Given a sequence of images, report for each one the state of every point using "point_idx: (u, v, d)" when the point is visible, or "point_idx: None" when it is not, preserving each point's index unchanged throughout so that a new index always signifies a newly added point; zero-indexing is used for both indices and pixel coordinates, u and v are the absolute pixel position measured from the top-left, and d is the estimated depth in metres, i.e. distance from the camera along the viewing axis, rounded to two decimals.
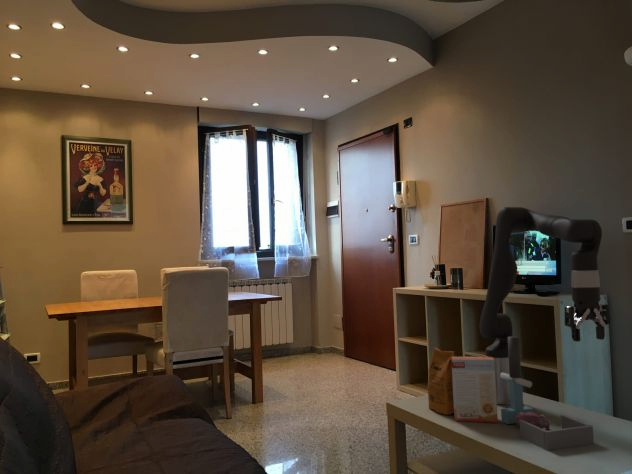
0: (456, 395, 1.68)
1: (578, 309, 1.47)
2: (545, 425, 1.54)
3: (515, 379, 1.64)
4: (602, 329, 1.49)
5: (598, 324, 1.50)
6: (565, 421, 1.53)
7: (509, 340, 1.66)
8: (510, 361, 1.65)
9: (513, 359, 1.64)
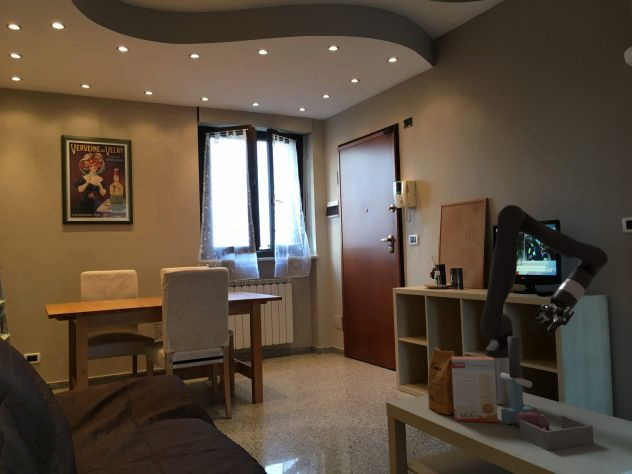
0: (456, 395, 1.68)
1: None
2: (545, 425, 1.54)
3: (515, 379, 1.64)
4: None
5: (539, 319, 1.74)
6: (565, 421, 1.53)
7: (509, 340, 1.66)
8: (510, 361, 1.65)
9: (513, 359, 1.64)
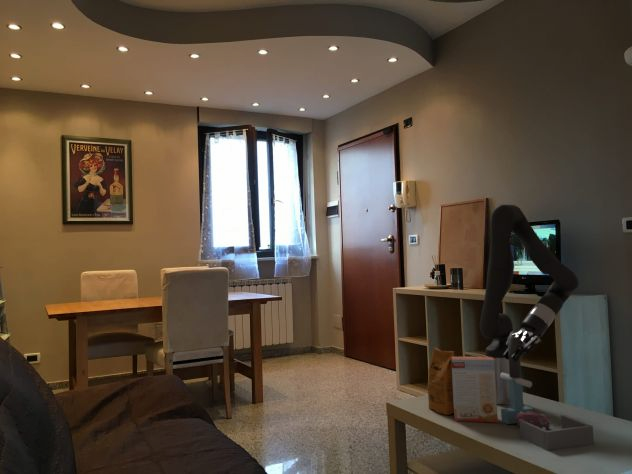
0: (456, 395, 1.68)
1: None
2: (545, 424, 1.55)
3: (515, 379, 1.64)
4: None
5: None
6: (565, 421, 1.53)
7: (509, 340, 1.66)
8: (510, 361, 1.65)
9: None
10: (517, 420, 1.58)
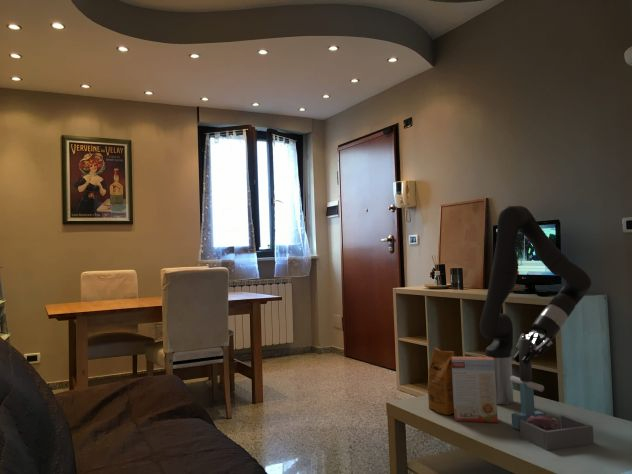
0: (456, 395, 1.68)
1: None
2: None
3: (526, 383, 1.59)
4: None
5: None
6: (565, 421, 1.53)
7: (520, 342, 1.60)
8: (521, 364, 1.60)
9: None
10: None
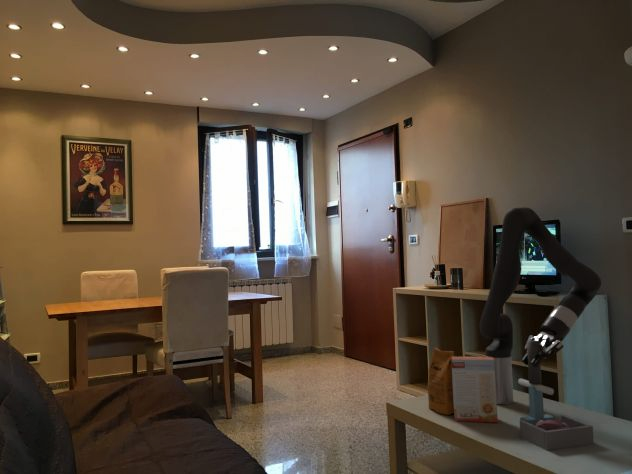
0: (456, 395, 1.68)
1: None
2: None
3: (535, 386, 1.55)
4: None
5: None
6: (565, 421, 1.53)
7: (528, 344, 1.56)
8: (530, 367, 1.56)
9: None
10: None
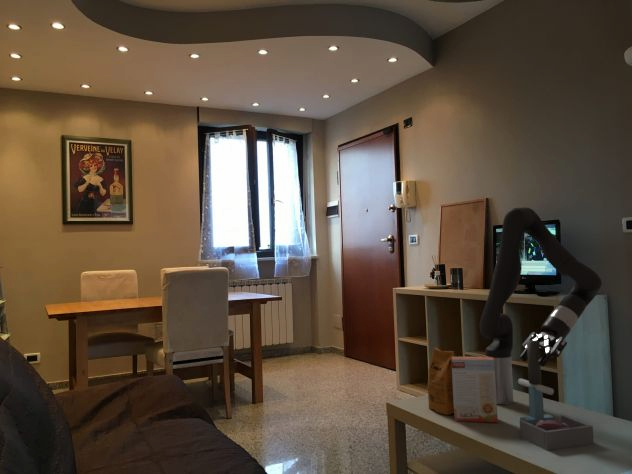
0: (456, 395, 1.68)
1: None
2: None
3: (535, 386, 1.55)
4: None
5: None
6: (565, 421, 1.53)
7: (528, 344, 1.56)
8: (530, 367, 1.56)
9: (533, 365, 1.55)
10: None
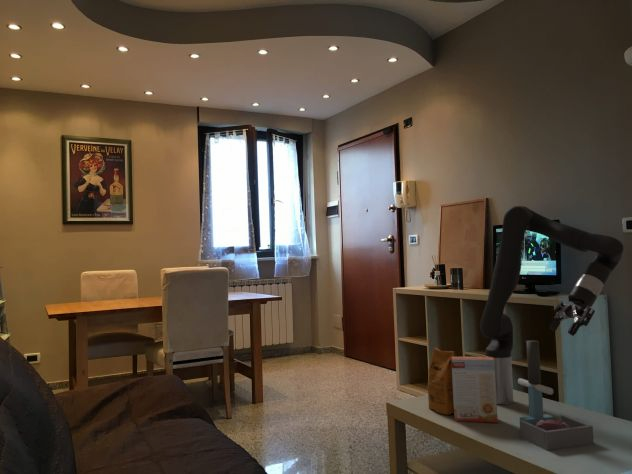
0: (456, 395, 1.68)
1: None
2: None
3: (535, 385, 1.55)
4: None
5: (558, 318, 1.67)
6: (565, 421, 1.53)
7: (528, 344, 1.56)
8: (529, 366, 1.56)
9: (532, 365, 1.55)
10: None
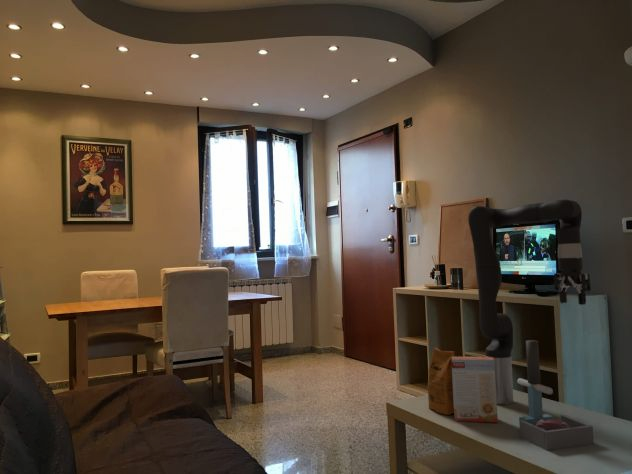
0: (456, 395, 1.68)
1: None
2: None
3: (534, 385, 1.55)
4: None
5: (562, 290, 1.77)
6: (565, 421, 1.53)
7: (527, 344, 1.57)
8: (529, 366, 1.56)
9: (532, 365, 1.56)
10: None
